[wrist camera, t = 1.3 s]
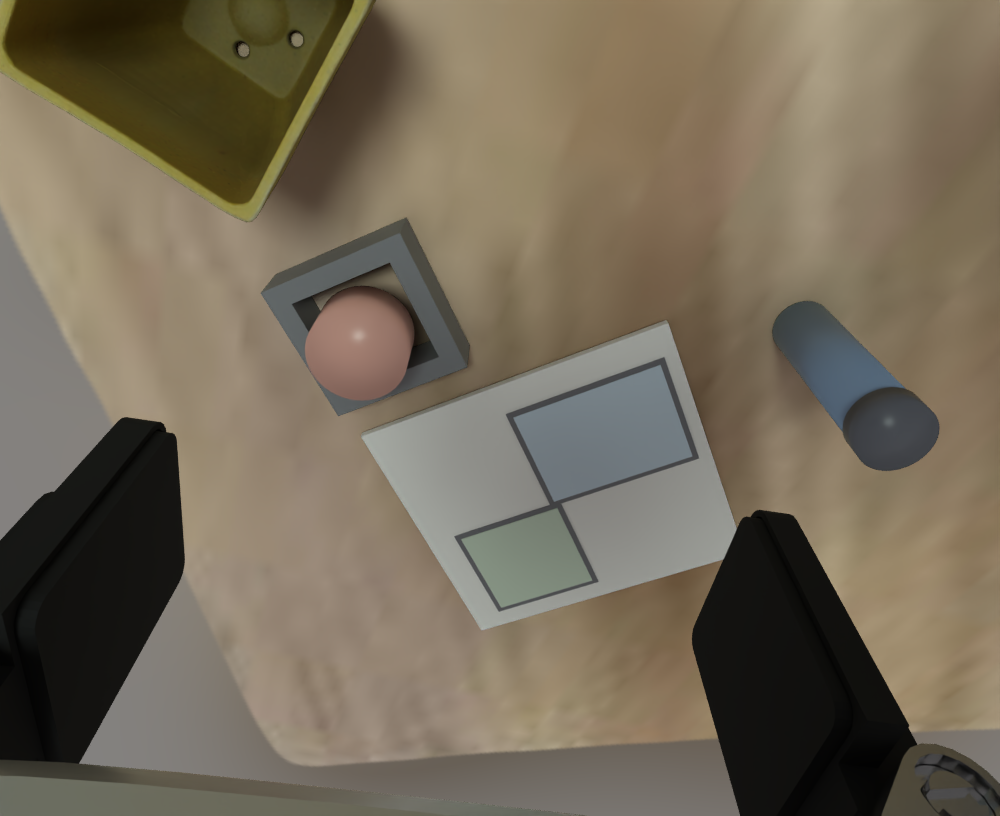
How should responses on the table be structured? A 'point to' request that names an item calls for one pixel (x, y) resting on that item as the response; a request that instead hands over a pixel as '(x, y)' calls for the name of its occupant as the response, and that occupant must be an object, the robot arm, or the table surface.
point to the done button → (360, 343)
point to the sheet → (563, 479)
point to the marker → (855, 389)
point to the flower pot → (187, 80)
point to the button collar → (355, 258)
